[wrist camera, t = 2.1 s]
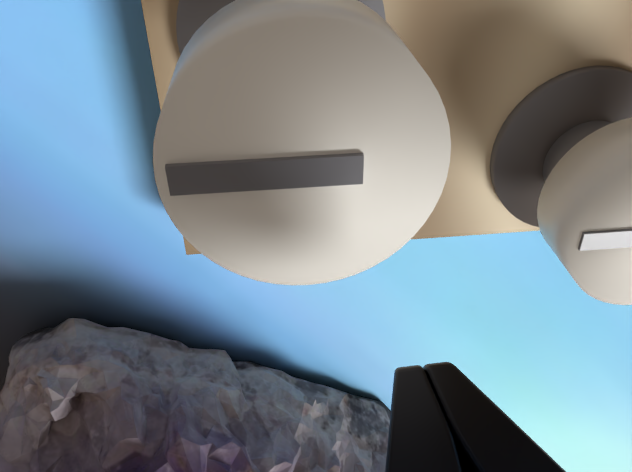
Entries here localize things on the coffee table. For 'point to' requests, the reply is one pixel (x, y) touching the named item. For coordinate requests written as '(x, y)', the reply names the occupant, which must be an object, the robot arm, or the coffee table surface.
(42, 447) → the geode
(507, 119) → the panel
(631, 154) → the knob
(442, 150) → the knob
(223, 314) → the coffee table surface
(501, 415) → the robot arm
